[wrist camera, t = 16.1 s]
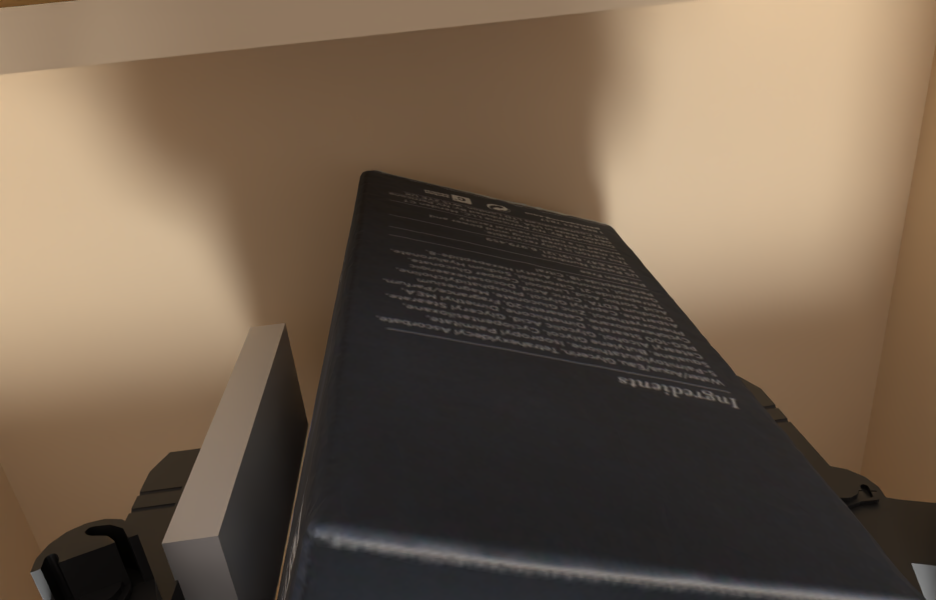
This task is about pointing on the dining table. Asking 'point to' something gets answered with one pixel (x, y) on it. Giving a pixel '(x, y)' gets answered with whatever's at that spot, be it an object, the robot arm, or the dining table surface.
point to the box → (544, 429)
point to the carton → (460, 167)
